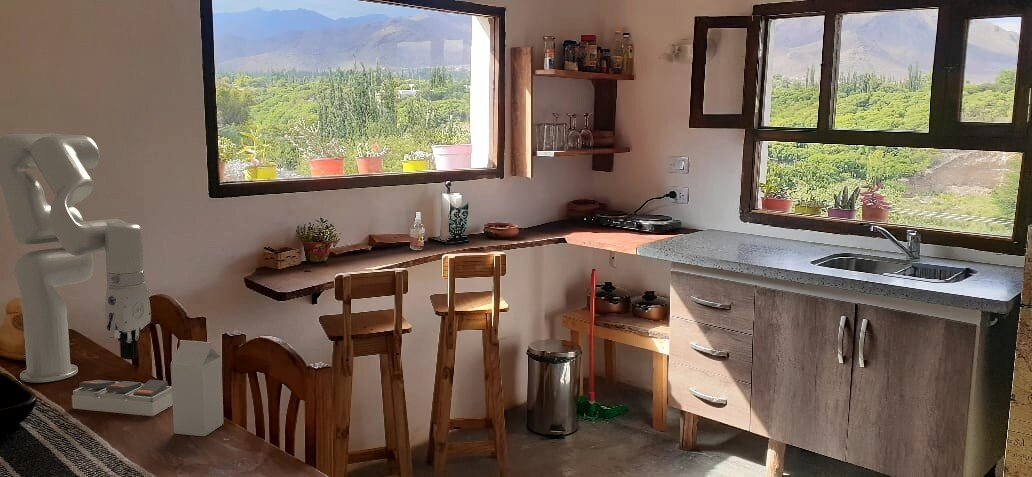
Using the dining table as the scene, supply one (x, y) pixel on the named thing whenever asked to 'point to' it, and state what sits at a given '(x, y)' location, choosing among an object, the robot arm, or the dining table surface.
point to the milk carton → (196, 389)
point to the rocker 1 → (96, 384)
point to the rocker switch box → (121, 401)
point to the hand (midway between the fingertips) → (129, 358)
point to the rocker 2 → (123, 386)
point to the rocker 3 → (151, 388)
